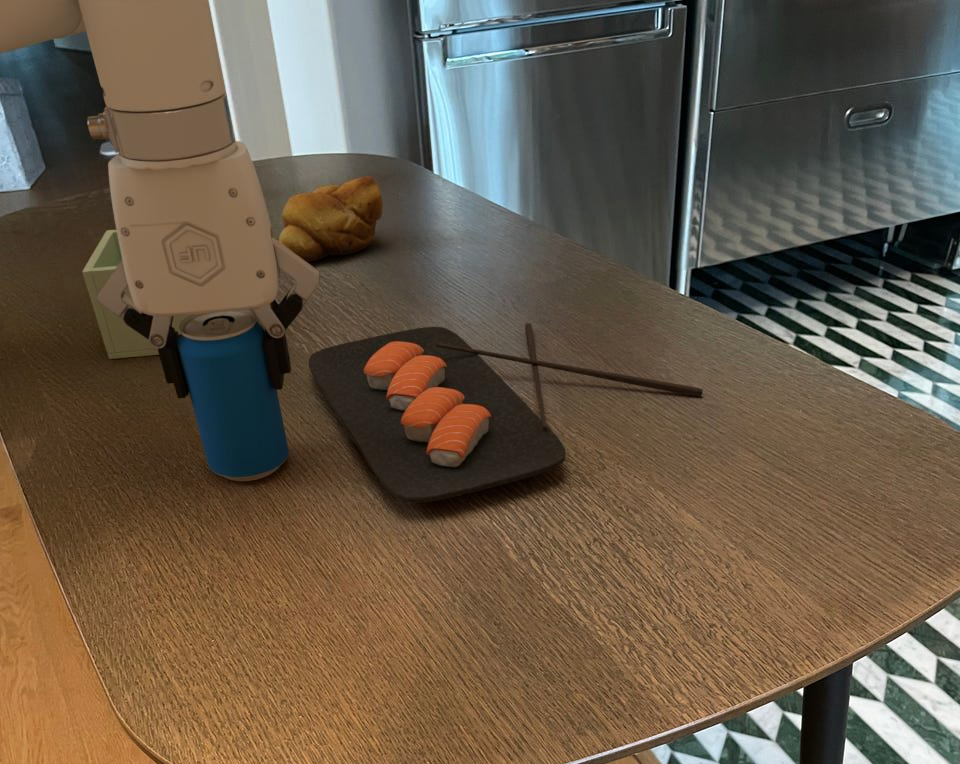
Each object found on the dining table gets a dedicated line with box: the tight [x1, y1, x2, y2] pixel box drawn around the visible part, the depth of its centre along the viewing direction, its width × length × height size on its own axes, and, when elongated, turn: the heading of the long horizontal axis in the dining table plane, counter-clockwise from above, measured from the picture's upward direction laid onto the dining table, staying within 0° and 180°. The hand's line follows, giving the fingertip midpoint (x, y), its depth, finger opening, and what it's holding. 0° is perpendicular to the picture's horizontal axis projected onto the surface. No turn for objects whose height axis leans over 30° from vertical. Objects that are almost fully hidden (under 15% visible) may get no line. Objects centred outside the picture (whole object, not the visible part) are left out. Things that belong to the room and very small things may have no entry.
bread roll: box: [278, 176, 384, 262], centre depth 116 cm, size 13×10×8 cm
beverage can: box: [177, 309, 290, 482], centre depth 77 cm, size 6×6×12 cm
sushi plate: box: [308, 323, 704, 504], centre depth 86 cm, size 29×30×4 cm
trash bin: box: [81, 229, 189, 360], centre depth 100 cm, size 12×12×9 cm
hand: (231, 384), depth 76 cm, fingers closed on beverage can, 6 cm apart
